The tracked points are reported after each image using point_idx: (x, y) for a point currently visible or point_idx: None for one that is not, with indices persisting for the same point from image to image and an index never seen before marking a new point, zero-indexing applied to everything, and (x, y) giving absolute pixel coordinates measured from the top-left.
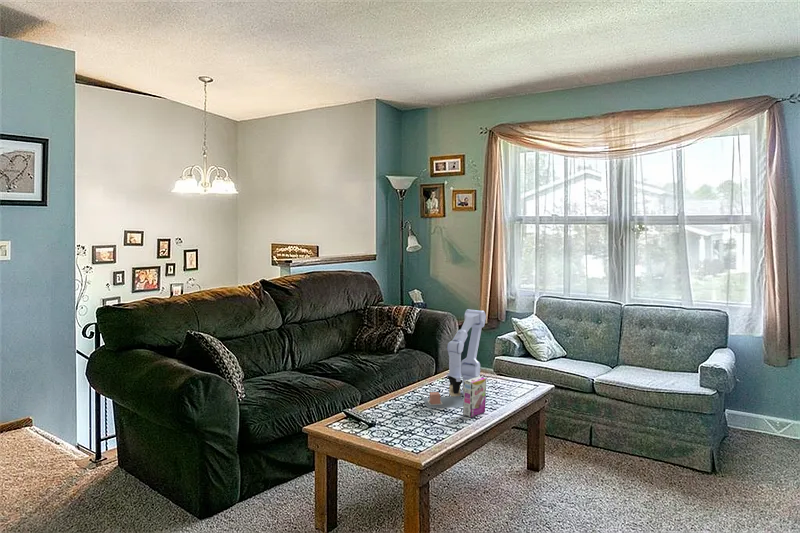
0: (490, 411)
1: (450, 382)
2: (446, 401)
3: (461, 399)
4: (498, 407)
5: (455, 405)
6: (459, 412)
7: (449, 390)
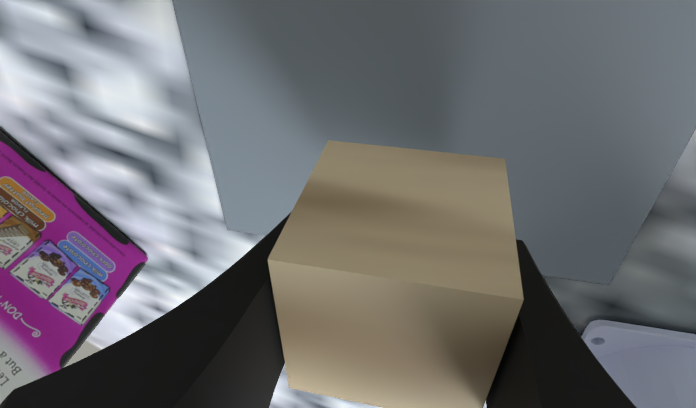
0: (133, 313)
1: (533, 384)
2: (452, 39)
3: None
4: None
5: (251, 111)
6: (28, 76)
7: (485, 198)
